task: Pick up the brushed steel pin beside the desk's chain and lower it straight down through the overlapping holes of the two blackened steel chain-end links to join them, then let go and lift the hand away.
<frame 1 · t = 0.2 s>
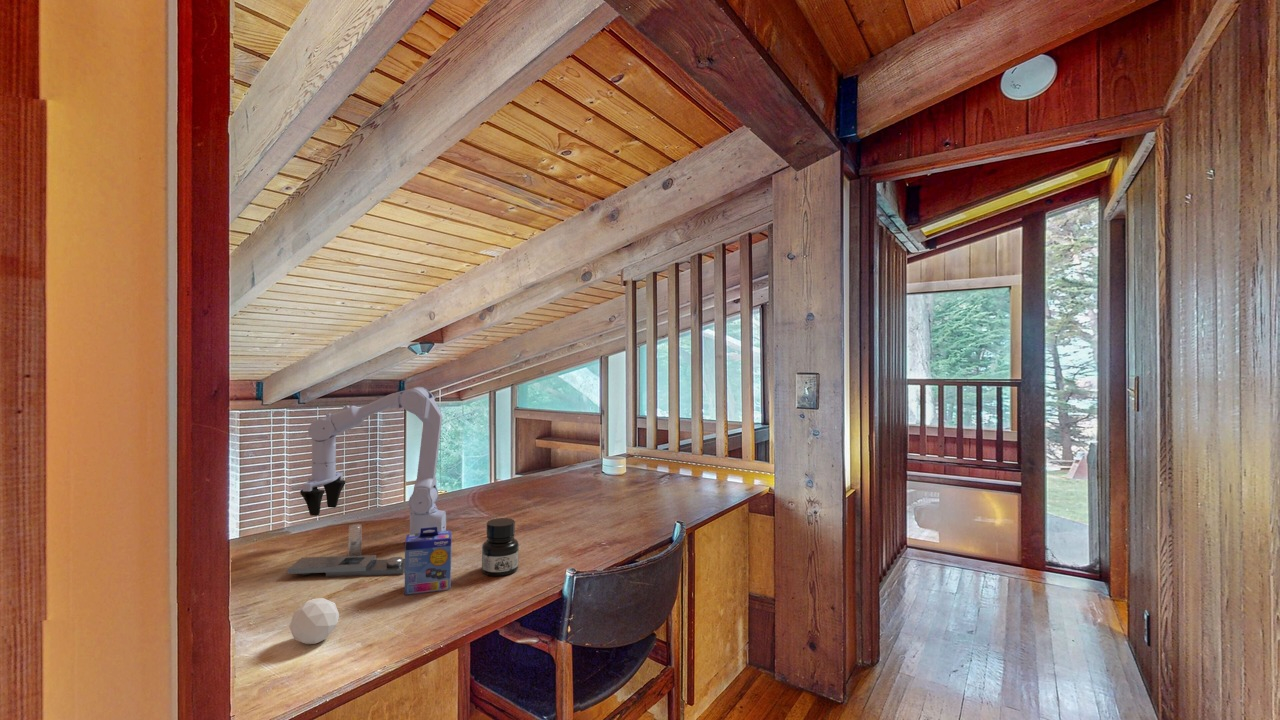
hand: (323, 511, 147), 10 cm above the table, tool pointing down, fingers open, 7 cm apart
end link upper: (351, 570, 131), on the table
ink cartridge box: (428, 589, 122), on the table
steel pin: (354, 556, 141), on the table
ball: (314, 641, 99), on the table
ink bottle: (500, 570, 133), on the table
end link lower: (351, 570, 131), on the table
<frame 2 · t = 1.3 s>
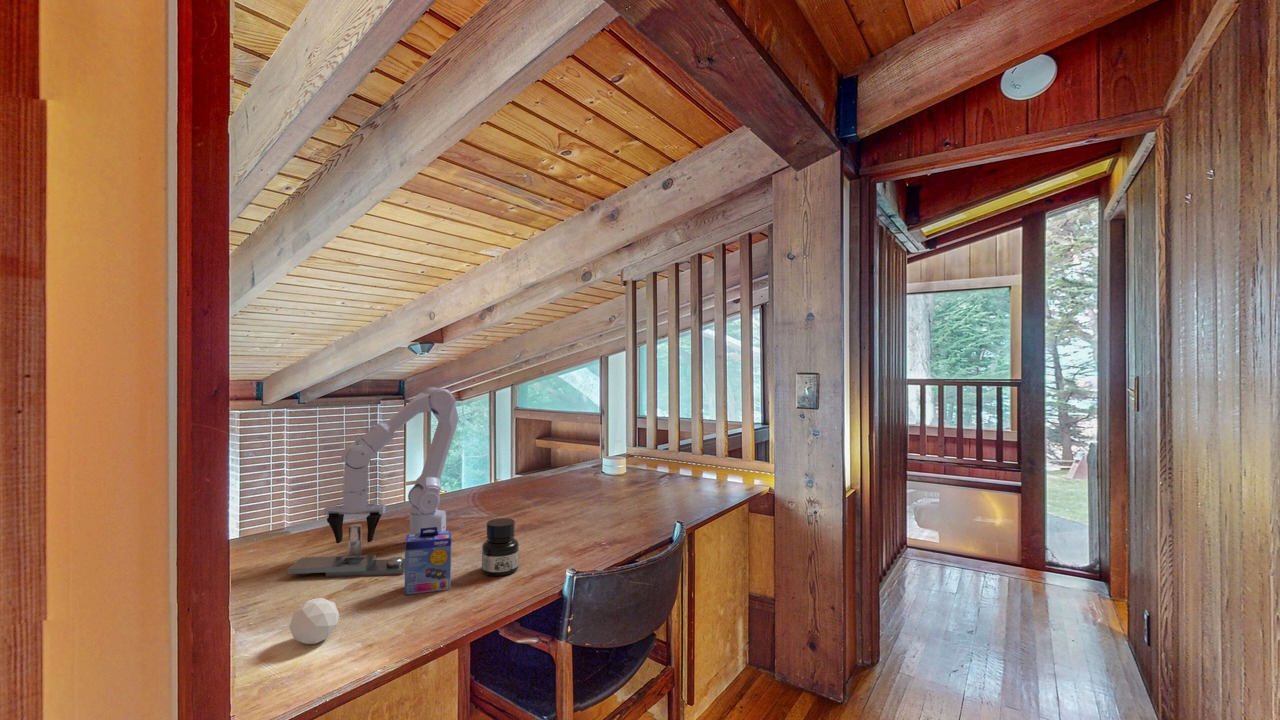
hand: (354, 541, 140), 4 cm above the table, tool pointing down, fingers open, 7 cm apart
nothing on the table moved.
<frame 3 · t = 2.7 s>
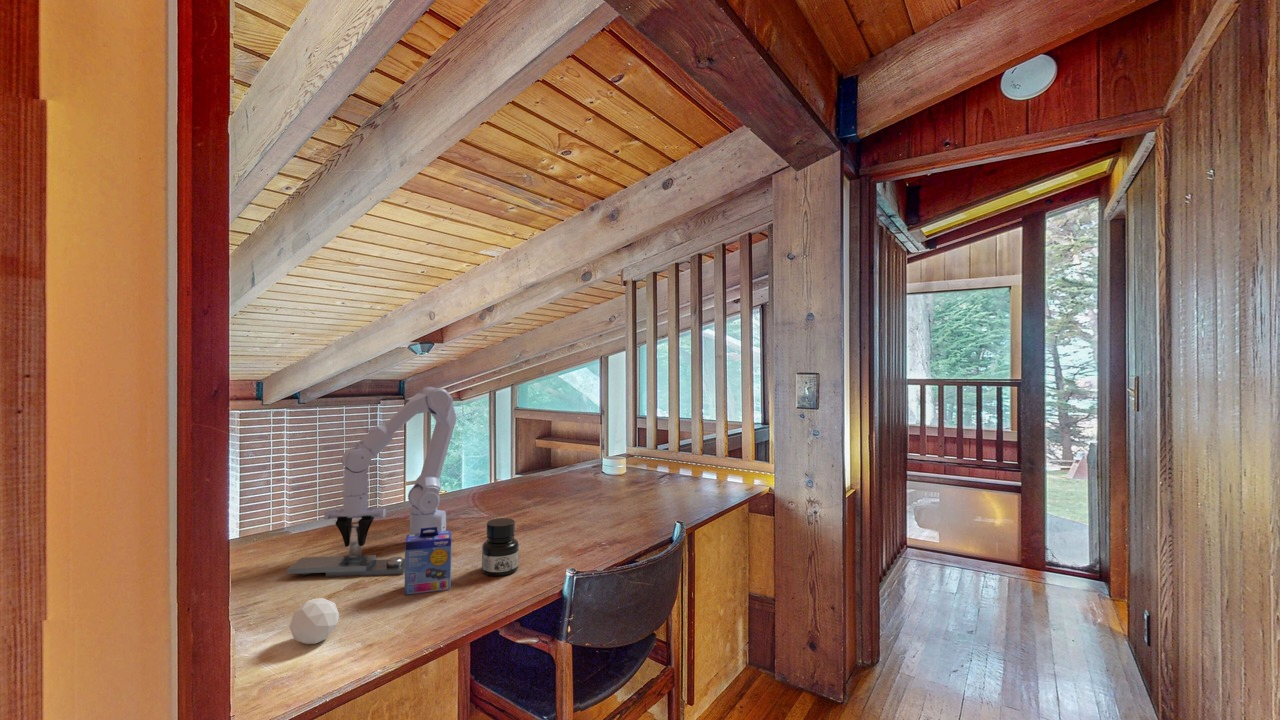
hand: (355, 545, 141), 3 cm above the table, tool pointing down, fingers closed on steel pin, 3 cm apart
steel pin: (354, 556, 141), on the table, touching gripper
everything else where it was.
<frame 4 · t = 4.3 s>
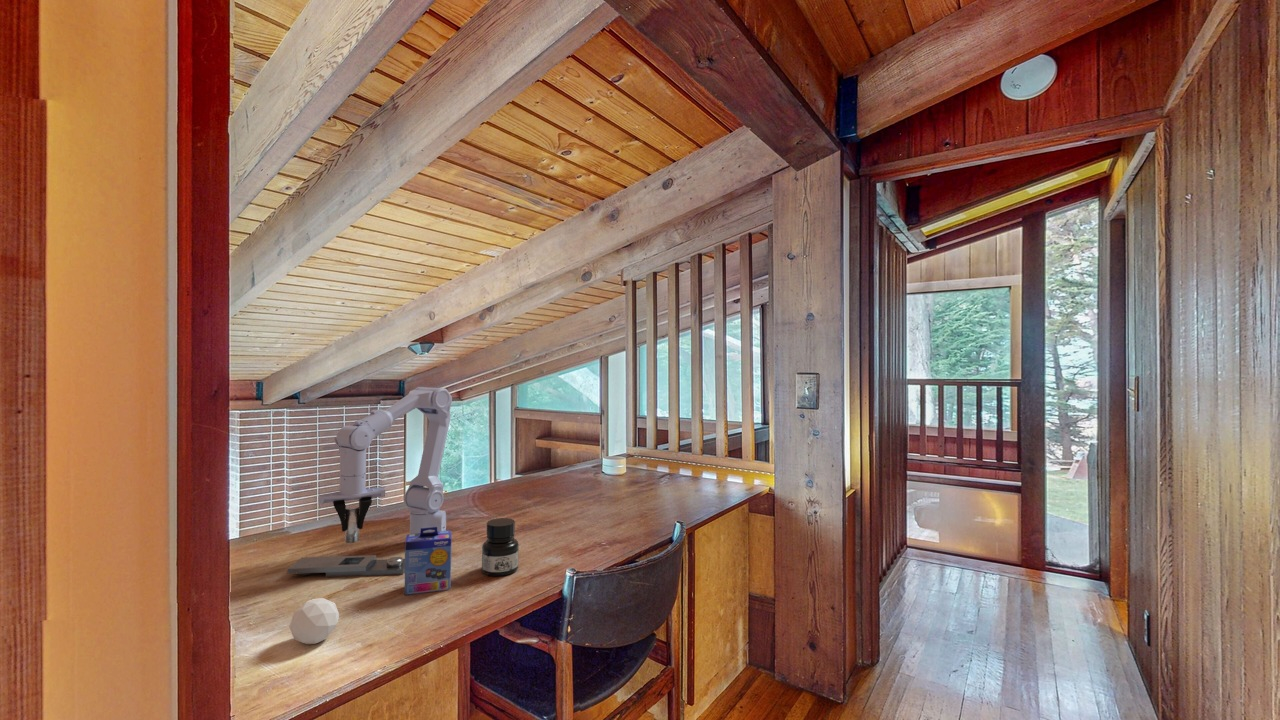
hand: (352, 529, 132), 10 cm above the table, tool pointing down, fingers closed on steel pin, 3 cm apart
steel pin: (351, 540, 132), point 7 cm above the table, touching gripper
everything else where it was.
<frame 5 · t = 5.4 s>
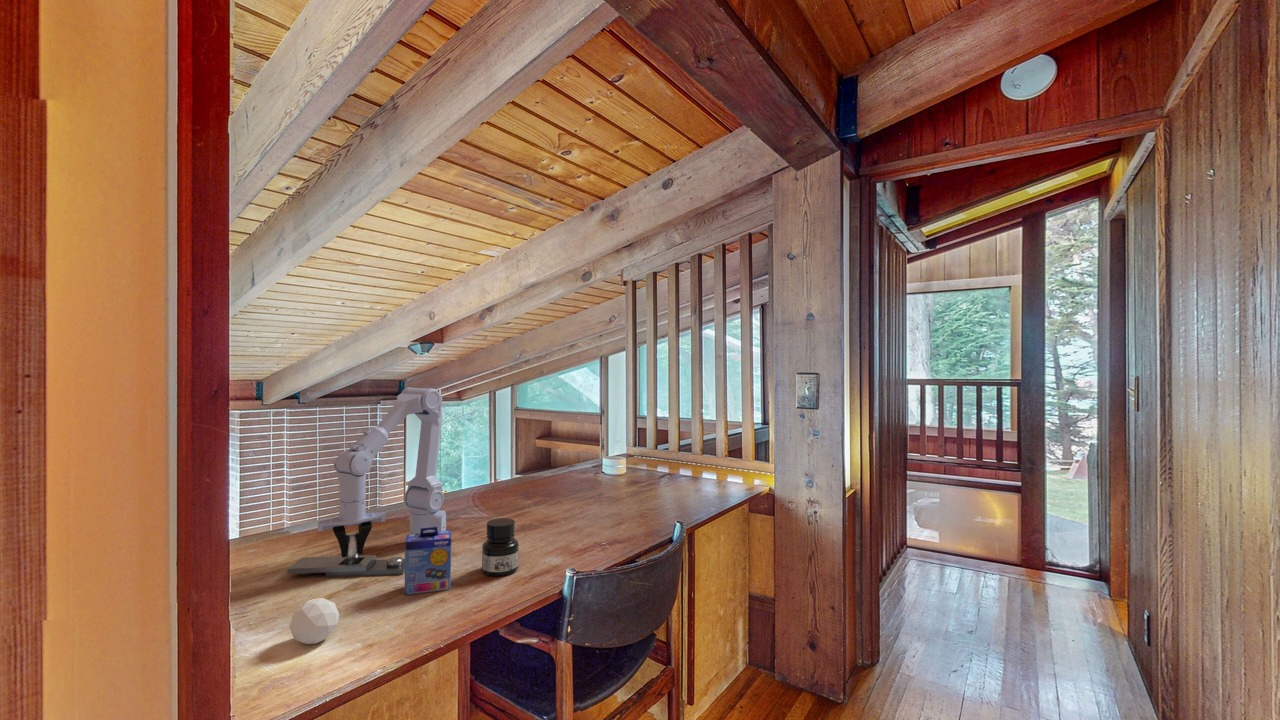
hand: (351, 554, 131), 4 cm above the table, tool pointing down, fingers closed on steel pin, 3 cm apart
steel pin: (351, 566, 131), point 1 cm above the table, touching gripper
everything else where it was.
when the fingers open (4 cm above the table, at t = 6.1 s): steel pin stays where it is, resting in end link lower.
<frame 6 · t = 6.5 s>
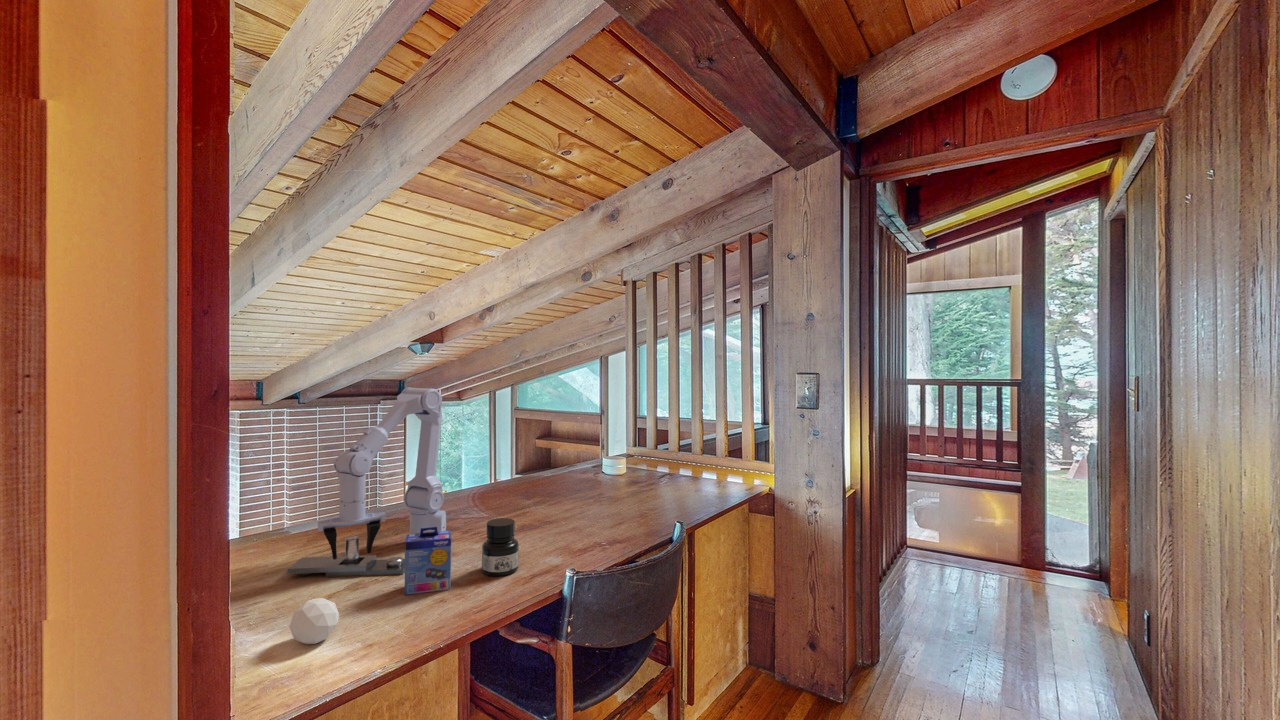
hand: (351, 554, 131), 4 cm above the table, tool pointing down, fingers open, 7 cm apart
steel pin: (351, 570, 131), resting in end link lower
everything else where it was.
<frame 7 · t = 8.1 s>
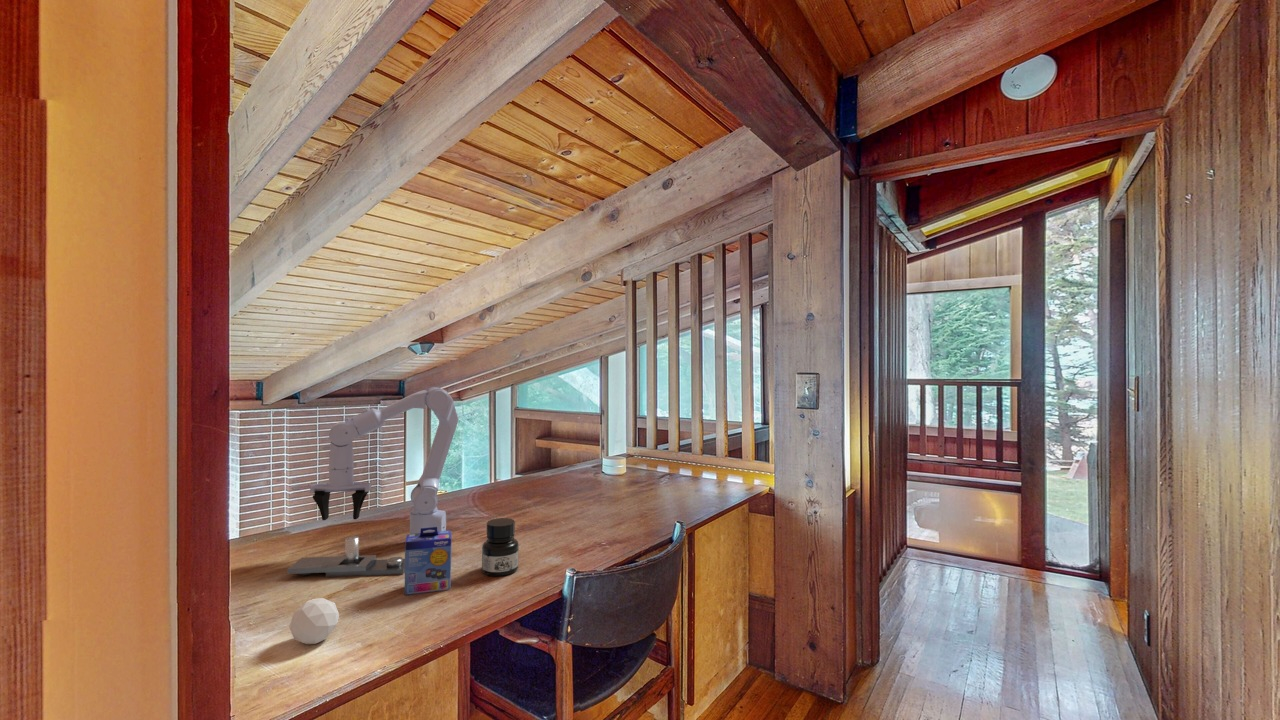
hand: (340, 518, 142), 9 cm above the table, tool pointing down, fingers open, 7 cm apart
nothing on the table moved.
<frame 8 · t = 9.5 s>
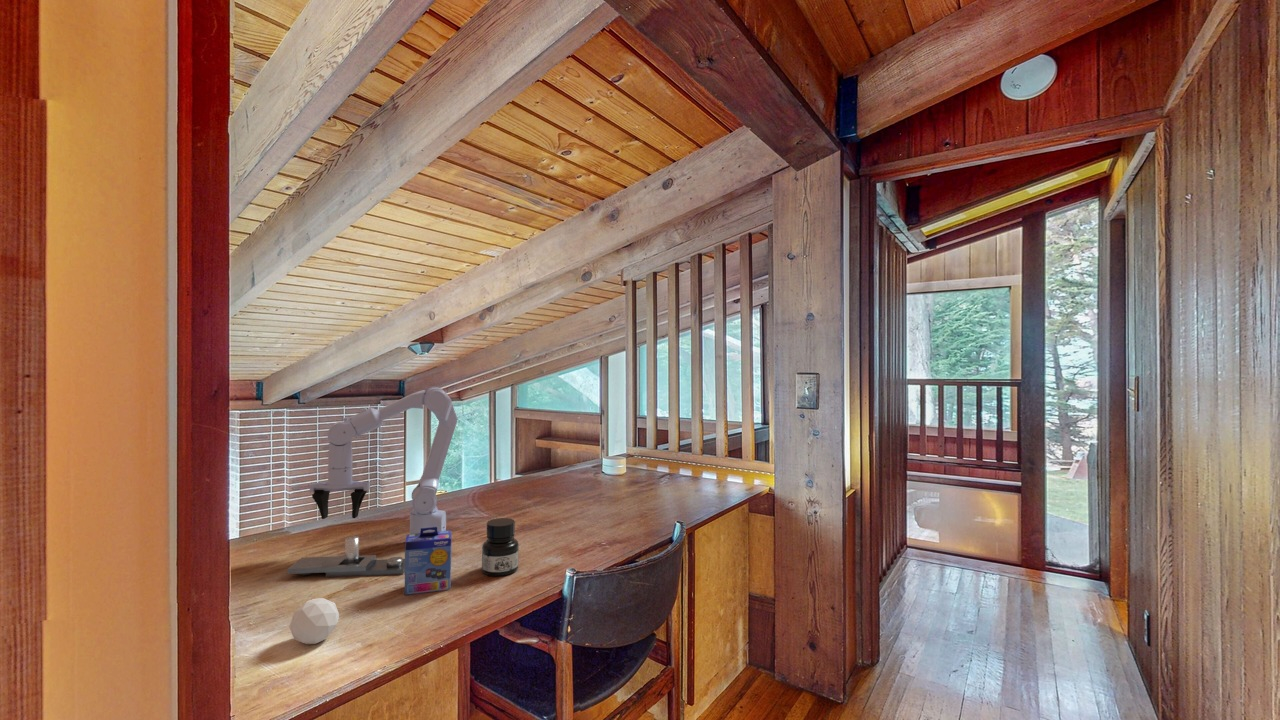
hand: (339, 517, 143), 9 cm above the table, tool pointing down, fingers open, 7 cm apart
nothing on the table moved.
at the end: steel pin 0.1 cm off-centre on the end link lower, point 0.0 cm above the end link lower's base; steel pin tilted 0°; the gripper is holding nothing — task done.
